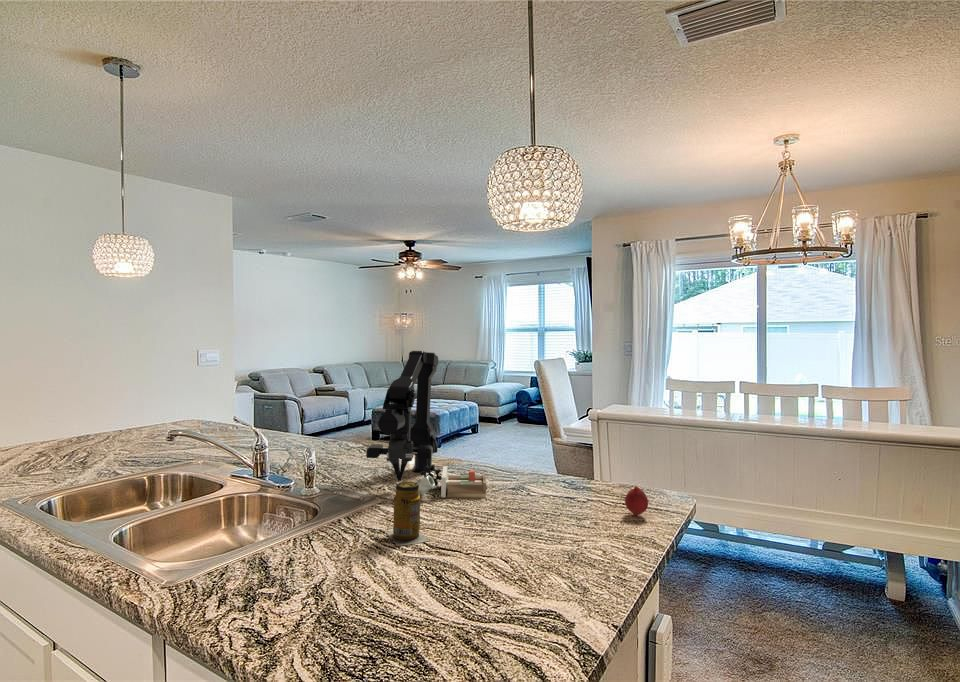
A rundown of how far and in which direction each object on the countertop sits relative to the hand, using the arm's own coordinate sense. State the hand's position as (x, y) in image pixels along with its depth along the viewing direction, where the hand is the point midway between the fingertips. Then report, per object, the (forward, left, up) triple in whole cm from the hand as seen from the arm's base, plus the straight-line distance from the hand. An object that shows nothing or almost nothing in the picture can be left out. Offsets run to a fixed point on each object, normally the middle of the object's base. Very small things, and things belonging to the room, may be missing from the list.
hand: (399, 480), depth 150 cm
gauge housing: (0, +20, -3) cm, 20 cm away
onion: (+18, +64, -3) cm, 67 cm away
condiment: (+33, +6, -3) cm, 34 cm away
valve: (+1, +5, -2) cm, 5 cm away
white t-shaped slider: (0, +18, -3) cm, 19 cm away
